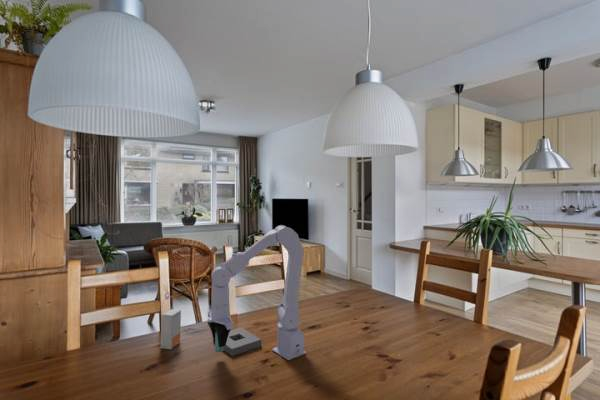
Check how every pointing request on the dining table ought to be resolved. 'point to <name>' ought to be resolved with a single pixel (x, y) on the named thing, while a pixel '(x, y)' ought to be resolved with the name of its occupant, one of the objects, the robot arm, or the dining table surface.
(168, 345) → the skincare box
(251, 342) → the peg block
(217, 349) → the peg
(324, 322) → the dining table surface
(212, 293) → the robot arm
